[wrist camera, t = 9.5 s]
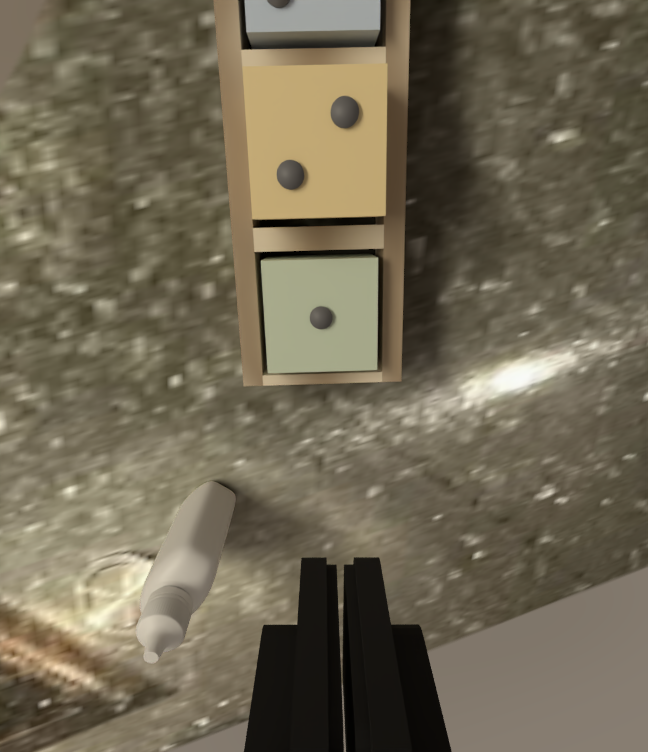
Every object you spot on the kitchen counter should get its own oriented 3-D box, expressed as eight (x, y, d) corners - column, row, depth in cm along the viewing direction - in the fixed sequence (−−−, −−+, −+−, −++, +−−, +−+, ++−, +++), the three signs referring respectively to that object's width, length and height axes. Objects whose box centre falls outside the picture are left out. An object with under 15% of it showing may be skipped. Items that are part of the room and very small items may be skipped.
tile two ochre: (376, 87, 24) (388, 61, 20) (375, 216, 26) (386, 215, 22) (252, 89, 24) (241, 64, 20) (260, 219, 25) (251, 219, 22)
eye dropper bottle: (254, 520, 35) (226, 667, 23) (186, 551, 35) (126, 709, 24) (223, 471, 33) (178, 601, 22) (154, 504, 34) (73, 647, 23)
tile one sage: (370, 253, 29) (378, 257, 25) (369, 352, 30) (377, 371, 27) (267, 256, 28) (260, 261, 25) (273, 355, 30) (267, 374, 26)
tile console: (399, -102, 24) (414, -156, 21) (391, 364, 31) (401, 381, 28) (217, -99, 24) (201, -152, 21) (251, 368, 31) (243, 386, 28)
